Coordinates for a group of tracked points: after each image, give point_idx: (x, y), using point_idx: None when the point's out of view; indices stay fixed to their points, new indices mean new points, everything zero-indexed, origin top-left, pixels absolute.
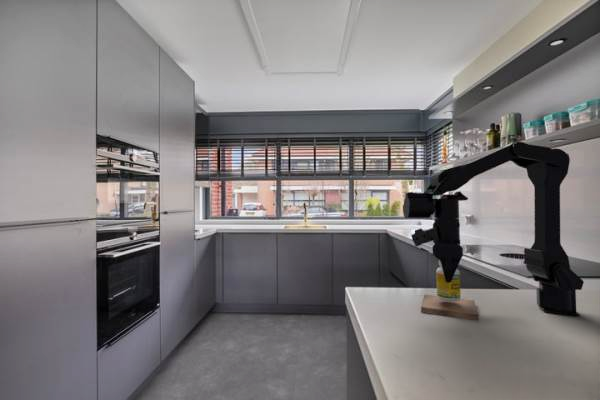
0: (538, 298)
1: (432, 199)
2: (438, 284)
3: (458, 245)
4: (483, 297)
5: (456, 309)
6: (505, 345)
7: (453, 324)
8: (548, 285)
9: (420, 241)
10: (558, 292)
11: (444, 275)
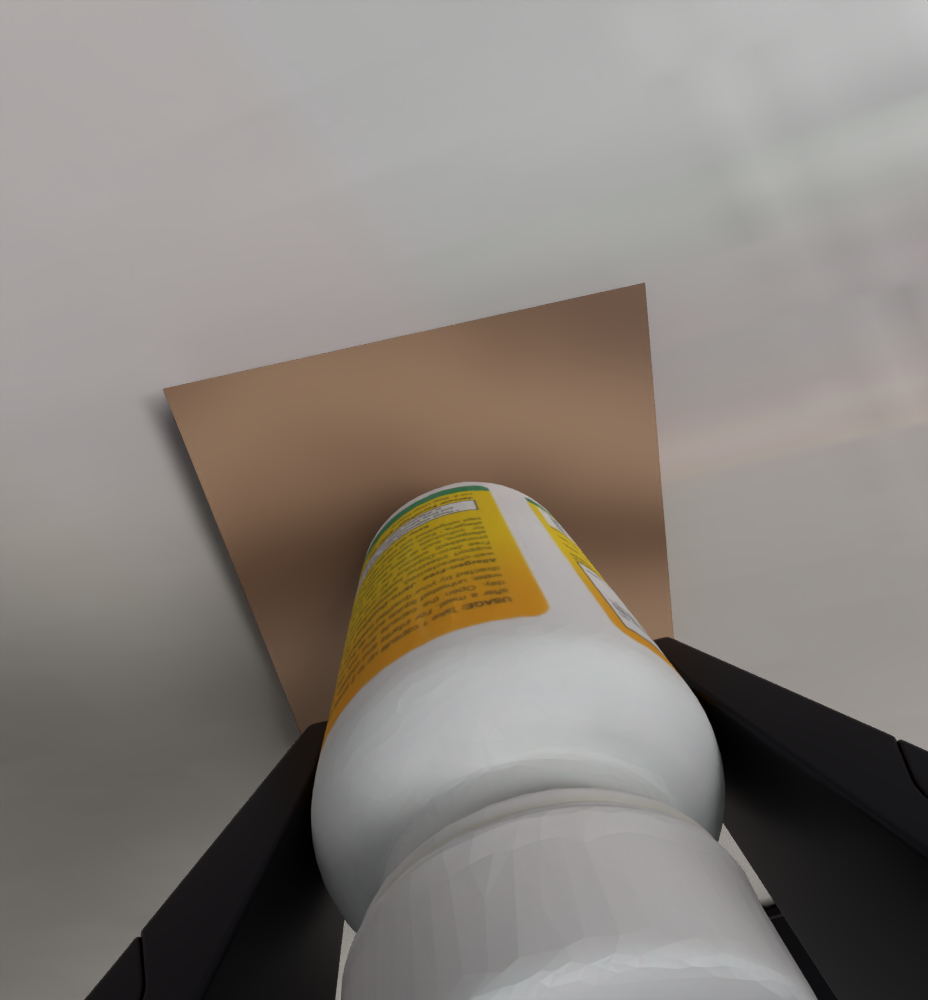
0: (806, 967)
1: None
2: (381, 577)
3: None
4: (891, 660)
5: (330, 639)
6: (9, 890)
7: (101, 649)
8: None
9: None
10: None
11: (240, 810)
